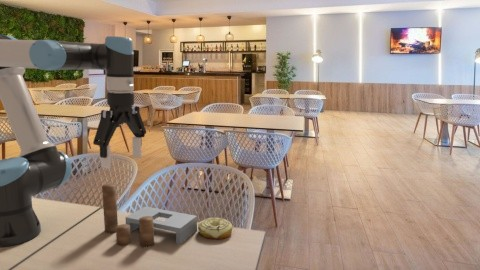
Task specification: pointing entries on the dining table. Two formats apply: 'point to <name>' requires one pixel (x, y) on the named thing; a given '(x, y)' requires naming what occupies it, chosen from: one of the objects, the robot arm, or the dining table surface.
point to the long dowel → (110, 207)
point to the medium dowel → (146, 231)
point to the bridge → (166, 222)
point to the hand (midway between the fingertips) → (122, 162)
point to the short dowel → (123, 234)
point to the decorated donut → (215, 228)
